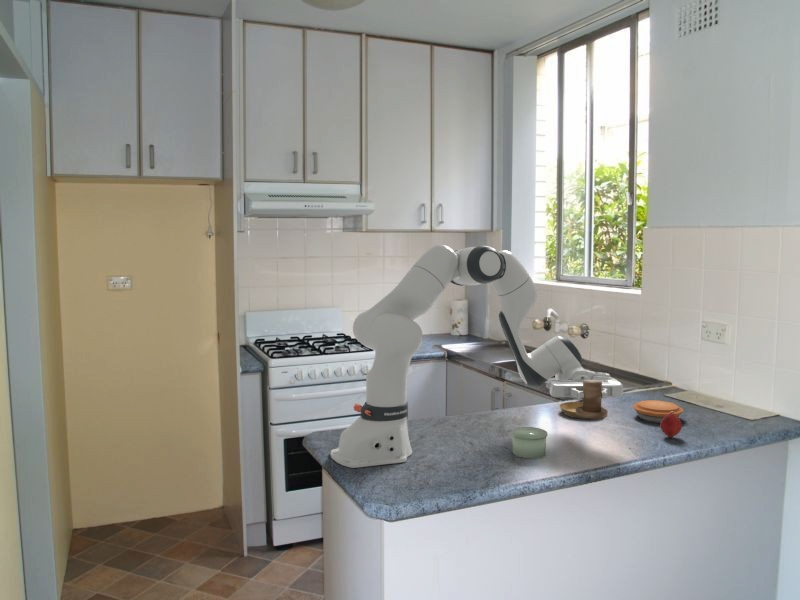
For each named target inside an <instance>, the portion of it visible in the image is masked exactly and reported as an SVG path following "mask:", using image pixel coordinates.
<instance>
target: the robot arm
mask: <svg viewBox="0 0 800 600" xmlns="http://www.w3.org/2000/svg"><path fill="white" fill-rule="evenodd" d="M450 283H451V284H453V285H456V286H460V287H461V286H477V285H478V286H479V285H484V284H485V285H486V284H490V285H491V287H492V288H493V290H494V291H495V294H496V295H497V297H498V299H499V301H500V311H499V313H498V319H499V322H500V326H501V328H502V331H503V335H504V336H505V339H506V341H507V343H508V346H509V349H510V351H511V354H512V355H513V359H514V361H515V364H516V366H517V372H518V374H519V377H520V378H521V380H522V381H523V382H524V383H525V384H526V385H527V386H530V387H536V388H537V387H538V388H540V387H541V386H543V385H544V384H545V388H547V389H549V394H550V396H551V397H553V398H572V399H575V400H577V401H578V400H579V401H580V400H583V398H584V392H583V381H584V380H599V381H601V382H602V398H601V399H608V398H621V397H623V396H624V385H623V384H622V382H620V380H617V379H616V378H615V377H614V378H613V377H611V375H610V373H609V372H608V373H607V372H600V371H592V370H590V369H585V368H584V367H583V366H582V363H583V358H582V355H581V353H580V350H579V349H578V348H577V347H576V346H575V344H574V343H573V342H572V341H571V340H570V339H568V338H567V337H565V336H561V335H556V336H554V337H552V338H551V339H549V340H547V341H546V342H544V343H543V344H542V345H540V346H538V347H537V348H535V349H534V350H532V351H531V352H528V353H527V350H526V348H525V344H524V343H523V340H522V338H521V336H520V335H521V334H520V328H521V325H522V323H523V321H524V320H525V318H526V317H527V315H528V314H529V313H530V312H531V311H532V309H533V308H534V305H535V304H536V300H537V298H538V290H537V286H536V285H535V282H534V281H533V279H532V277H531V276H530V274H529V272H528V271H527V270H526V268H525V266H524V265H523V264H522V263H521V261H520V260H518V258H517V257H516V256H515V255H514V254H513V253H512V252H511V251H508V250H507V249H505V250H497V249H495V248H493V247H492V246H489V245H488V246H487V245H478V246H469V247H464V248H462V249H457V250H454V249H452V248H451V247H449V246H447V245H446V244H435V245H433V246H432V247H430V248H429V249H428V250H427V251H426V252H424V253H423V255H421V256H420V257H419V259H417V261H416V262H415V263H414V264H413V265H412V266H411V268H410V269H409V270H408V272H407V273H406V274H405V275H404V277H402V279H401V280H400V282H399V283H398V284H397V285H396V286H395V287H394V288H393V289H392V290H390V292H389V293H388V294H387V295H385V296H384V297H382V298H381V300H379V301H378V302H376V304H374V305H373V306H372V307H370V308H369V309H367V310H365V311H362V312H361V313H360V314H358V315H357V316H356V318H355V320H354V321H353V325H352V332H353V336H354V338H355V339H356V340H357V341H358V342H359V343H360V344H361V345H363V346H364V347H366V348H367V349H371V350H372V351H373V350H374V351H375V355H374V361H373V363H372V366H371V368H370V369H369V370H368V371H367V373H366V377H365V380H366V382H365V390H366V391H365V392H366V393H365V396H366V397H365V400H366V401H365V402H364V404H363V405H361V404H360V403H354V406H353V411H355V412H357V413H360V415H359V417H358V418H357V419H355V421H353V422H352V423H351V424H350V425H349V426H348V427H347V428H345V429H344V430H343V431H342V432H341V434H340V435H339V441H338V447H337V448H334V449H332V450H330V458H331V459H332V460H333V461H335V462H336V463H337V464H338V465H341V466H343V467H347V468H351V469H355V468H357V469H358V468H364V467H373V466H381V465H390V464H400V463H405V462H407V459H408V458H409V457H410V456H412V454H413V449H412V446H411V442H410V438H409V430H408V429H409V428H408V418H409V404H408V403H409V402H408V401H407V391H408V390H407V386H408V383H407V382H408V372H409V367H410V365H411V360H412V358H413V356H414V354H416V353H417V352H418V350H419V349H420V348H421V345H422V343H423V337H424V335H423V331H422V328H421V326H420V325H419V324H418V322H416V321H414V320H415V319H417V318H419V317H421V316H423V315H425V314H426V313H428V312H429V310H431V308H432V307H433V306H434V304H435V303H436V301H437V300H438V299H439V297H440V296H441V295H442V293H443V292H444V291H445V290H446V288H447V287H448V286H449V284H450ZM554 376H555V377H554ZM553 377H554V378H555V379H552V380H550V382H549V383H547V381H549V379H551V378H553Z"/></svg>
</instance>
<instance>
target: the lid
mask: <svg viewBox="0 0 800 600" xmlns="http://www.w3.org/2000/svg"><path fill="white" fill-rule="evenodd" d="M583 392H584V398H583V400H582V401H581V402H582V407H578V408H576V415H578V416H580V417H584V418H583V419H593V420H598V419H605V418H607V417H608V409H606V408H605V407H604V408H605V409H604V408H601V406H602V399H603V398H602V382H601V381H599V380H584V381H583Z"/></svg>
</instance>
